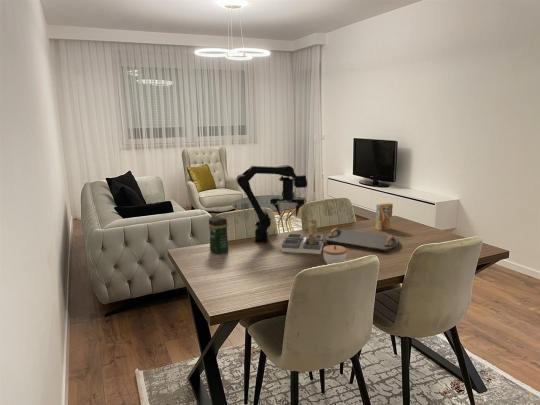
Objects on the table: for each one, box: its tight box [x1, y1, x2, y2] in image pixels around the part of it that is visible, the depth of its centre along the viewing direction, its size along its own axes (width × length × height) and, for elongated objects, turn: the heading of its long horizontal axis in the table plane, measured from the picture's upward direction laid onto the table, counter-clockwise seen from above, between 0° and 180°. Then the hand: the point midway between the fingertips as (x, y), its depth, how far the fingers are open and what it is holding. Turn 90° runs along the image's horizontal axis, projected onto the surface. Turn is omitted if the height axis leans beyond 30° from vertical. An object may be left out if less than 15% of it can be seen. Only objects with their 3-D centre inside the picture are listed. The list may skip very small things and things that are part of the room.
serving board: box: [324, 227, 400, 254], centre depth 224 cm, size 39×23×6 cm, turn 58°
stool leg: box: [308, 218, 318, 245], centre depth 211 cm, size 4×4×14 cm
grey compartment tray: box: [280, 232, 325, 255], centre depth 219 cm, size 20×20×4 cm
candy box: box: [375, 202, 394, 231], centre depth 248 cm, size 9×4×15 cm, turn 111°
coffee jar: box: [208, 215, 229, 255], centre depth 211 cm, size 10×8×19 cm
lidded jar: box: [322, 244, 347, 265], centre depth 193 cm, size 11×11×9 cm
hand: (288, 216), depth 231 cm, fingers open, 9 cm apart
